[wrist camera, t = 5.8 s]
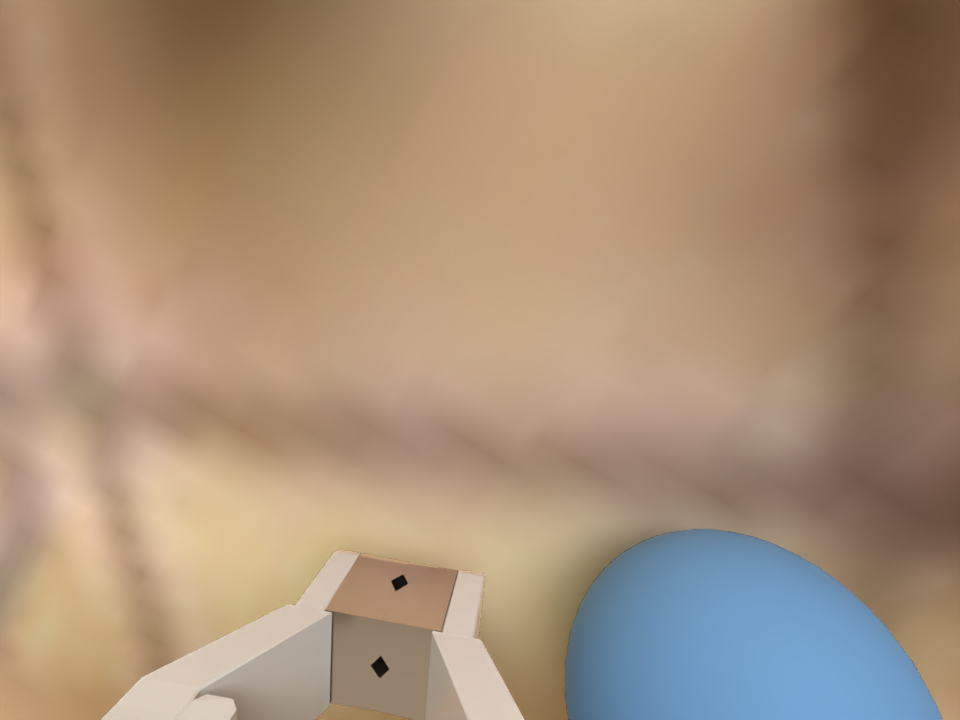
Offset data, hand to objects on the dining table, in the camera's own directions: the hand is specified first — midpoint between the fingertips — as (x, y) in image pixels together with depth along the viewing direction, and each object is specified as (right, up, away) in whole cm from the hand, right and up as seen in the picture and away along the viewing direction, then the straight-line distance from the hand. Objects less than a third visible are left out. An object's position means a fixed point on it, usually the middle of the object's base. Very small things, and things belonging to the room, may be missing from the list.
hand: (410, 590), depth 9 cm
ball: (+6, -1, -1) cm, 6 cm away
